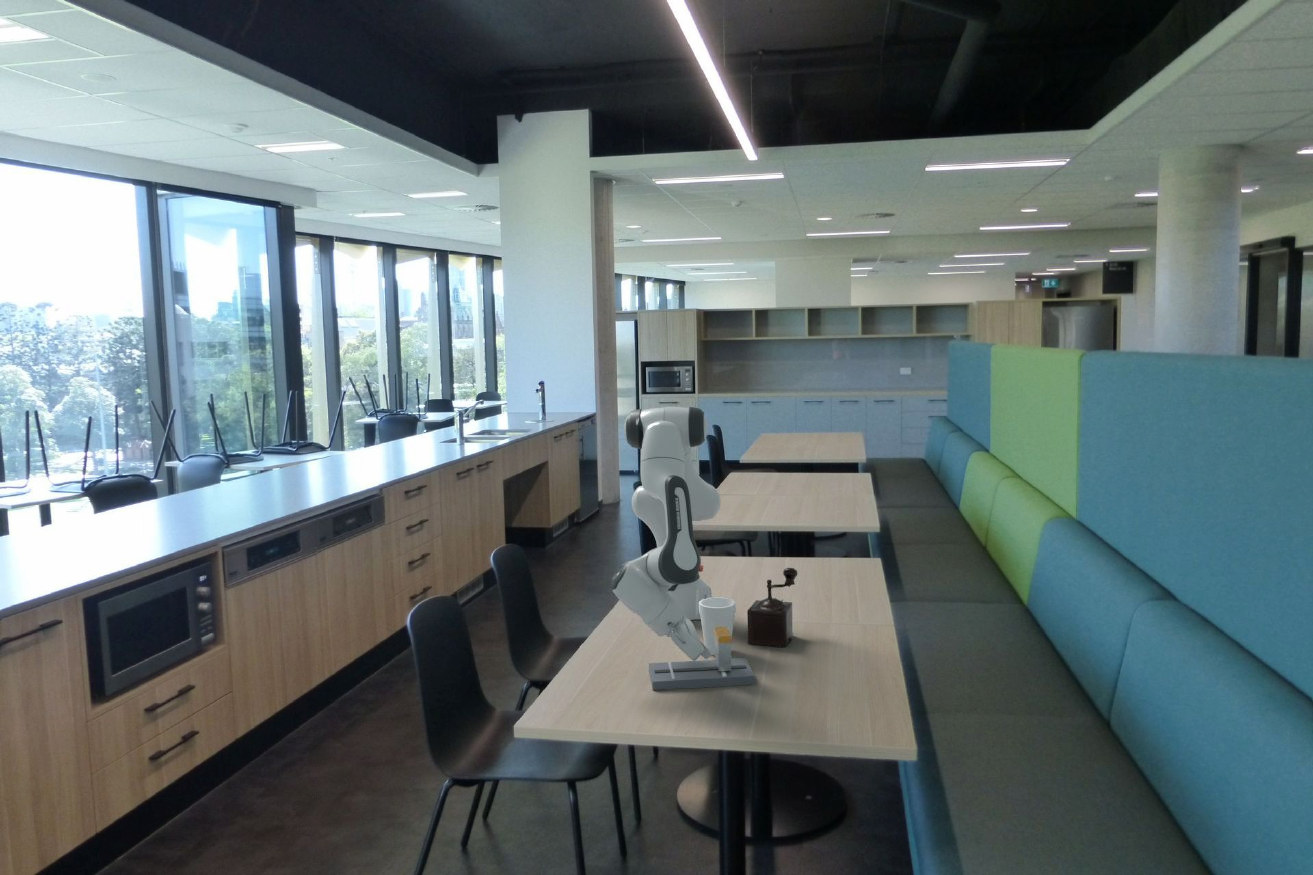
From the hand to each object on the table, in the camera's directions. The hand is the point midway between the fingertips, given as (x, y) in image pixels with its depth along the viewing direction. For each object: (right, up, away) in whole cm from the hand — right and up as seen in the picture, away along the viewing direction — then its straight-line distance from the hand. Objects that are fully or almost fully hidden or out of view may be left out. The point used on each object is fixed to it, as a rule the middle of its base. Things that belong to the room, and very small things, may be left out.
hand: (708, 655), depth 215 cm
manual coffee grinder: (+19, -2, +28) cm, 34 cm away
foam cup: (+4, -4, +18) cm, 19 cm away
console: (-2, -5, 0) cm, 6 cm away
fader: (+4, -3, +1) cm, 5 cm away
